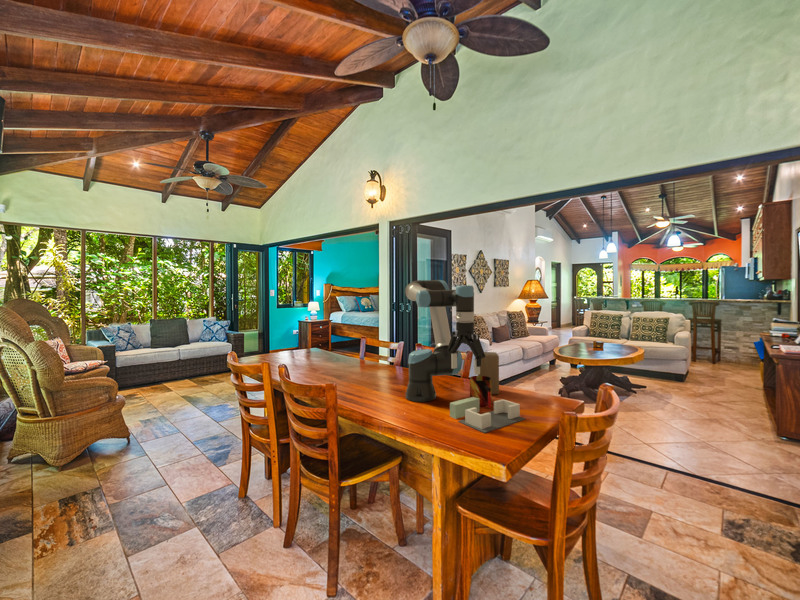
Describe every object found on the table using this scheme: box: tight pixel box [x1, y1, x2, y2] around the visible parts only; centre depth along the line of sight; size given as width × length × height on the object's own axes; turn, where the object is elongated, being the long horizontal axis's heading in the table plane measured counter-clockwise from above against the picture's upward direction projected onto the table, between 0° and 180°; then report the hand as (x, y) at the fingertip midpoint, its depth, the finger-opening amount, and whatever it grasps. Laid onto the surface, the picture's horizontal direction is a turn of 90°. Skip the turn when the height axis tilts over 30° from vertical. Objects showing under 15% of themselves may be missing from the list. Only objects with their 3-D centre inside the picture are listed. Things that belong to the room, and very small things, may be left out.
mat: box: [457, 410, 526, 434], centre depth 145 cm, size 14×24×1 cm, turn 124°
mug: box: [469, 375, 492, 409], centre depth 165 cm, size 10×14×12 cm
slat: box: [449, 397, 481, 420], centre depth 153 cm, size 4×14×6 cm, turn 124°
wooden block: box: [477, 351, 500, 395], centre depth 185 cm, size 10×10×20 cm
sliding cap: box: [493, 398, 521, 419], centre depth 150 cm, size 9×6×5 cm
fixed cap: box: [464, 407, 491, 429], centre depth 140 cm, size 9×5×5 cm, turn 34°
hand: (465, 371), depth 152 cm, fingers open, 13 cm apart
